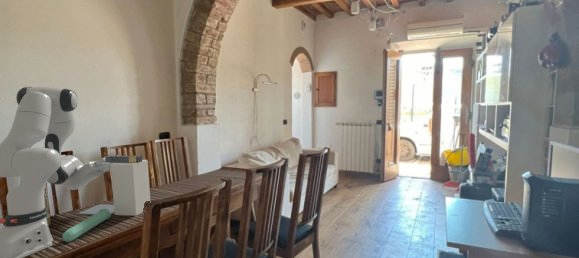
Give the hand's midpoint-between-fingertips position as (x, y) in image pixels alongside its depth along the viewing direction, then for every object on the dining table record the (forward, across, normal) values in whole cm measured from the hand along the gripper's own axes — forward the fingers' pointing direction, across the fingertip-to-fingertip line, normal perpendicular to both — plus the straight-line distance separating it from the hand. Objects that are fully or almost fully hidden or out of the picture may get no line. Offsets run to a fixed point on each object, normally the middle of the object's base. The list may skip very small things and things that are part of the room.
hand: (111, 157), depth 156 cm
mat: (-20, 0, +21) cm, 29 cm away
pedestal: (-5, 0, +30) cm, 30 cm away
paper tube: (-31, -23, +15) cm, 42 cm away
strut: (+4, 0, +5) cm, 7 cm away
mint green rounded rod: (-10, -24, +28) cm, 38 cm away
